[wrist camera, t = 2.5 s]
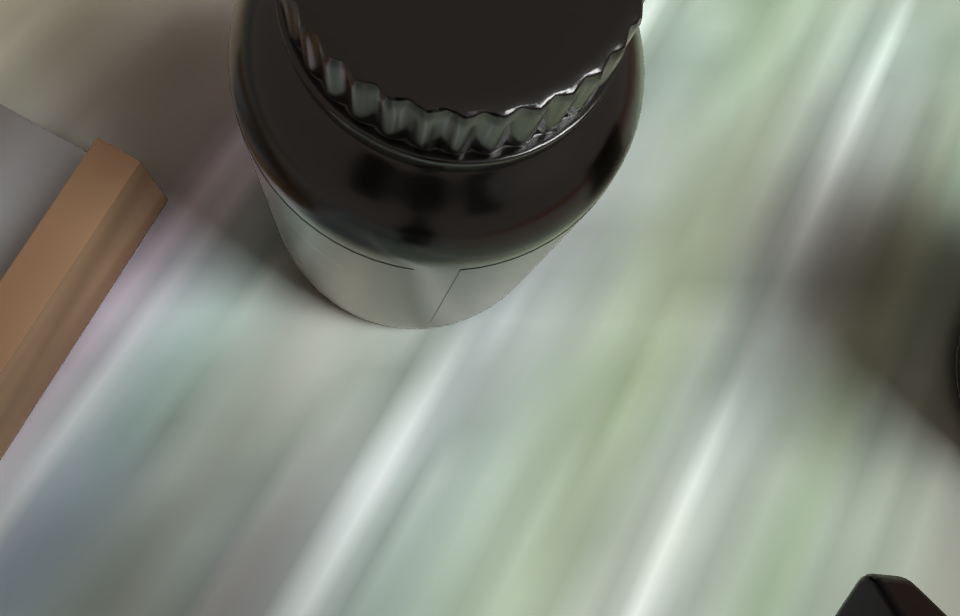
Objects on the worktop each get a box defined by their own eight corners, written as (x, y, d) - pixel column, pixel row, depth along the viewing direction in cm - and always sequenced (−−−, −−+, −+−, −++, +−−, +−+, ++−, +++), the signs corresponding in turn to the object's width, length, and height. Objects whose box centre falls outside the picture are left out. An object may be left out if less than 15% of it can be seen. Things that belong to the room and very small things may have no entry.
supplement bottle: (459, 26, 24) (573, -390, 12) (592, 252, 23) (845, 50, 12) (219, 143, 22) (80, -198, 11) (356, 385, 22) (369, 311, 10)
